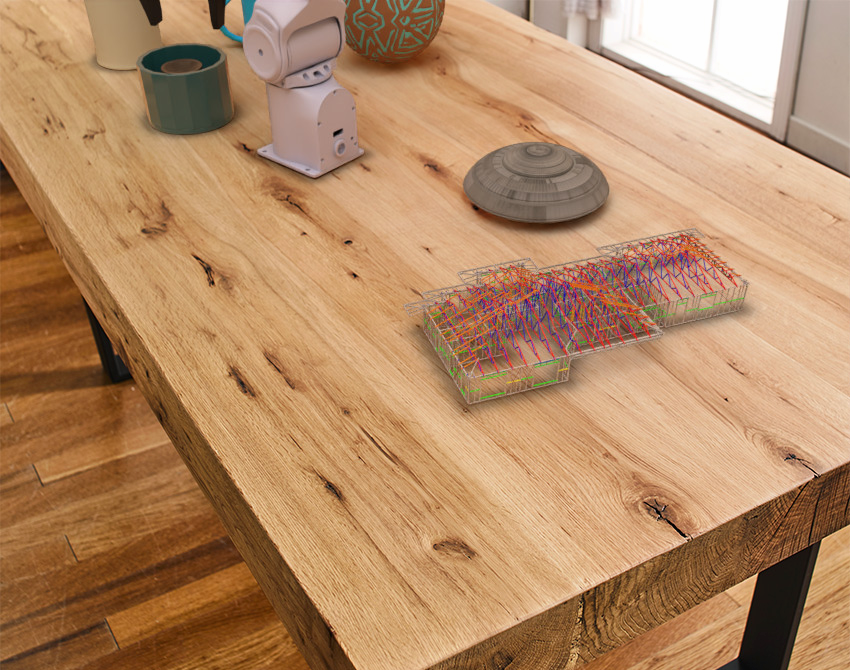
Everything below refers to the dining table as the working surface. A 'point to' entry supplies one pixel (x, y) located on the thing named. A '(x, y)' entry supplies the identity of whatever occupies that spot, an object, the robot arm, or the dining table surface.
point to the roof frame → (584, 288)
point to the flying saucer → (536, 183)
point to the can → (121, 32)
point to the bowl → (186, 89)
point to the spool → (181, 66)
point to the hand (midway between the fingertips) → (187, 24)
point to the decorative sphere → (391, 27)
